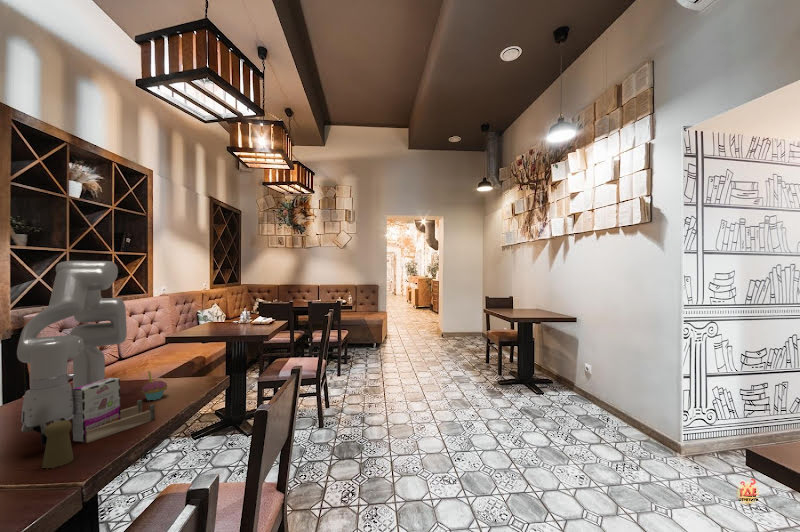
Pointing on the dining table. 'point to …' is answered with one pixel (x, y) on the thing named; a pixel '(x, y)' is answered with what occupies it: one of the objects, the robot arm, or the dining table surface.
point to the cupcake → (154, 389)
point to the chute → (122, 422)
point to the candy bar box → (95, 406)
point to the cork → (57, 444)
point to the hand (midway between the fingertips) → (48, 444)
